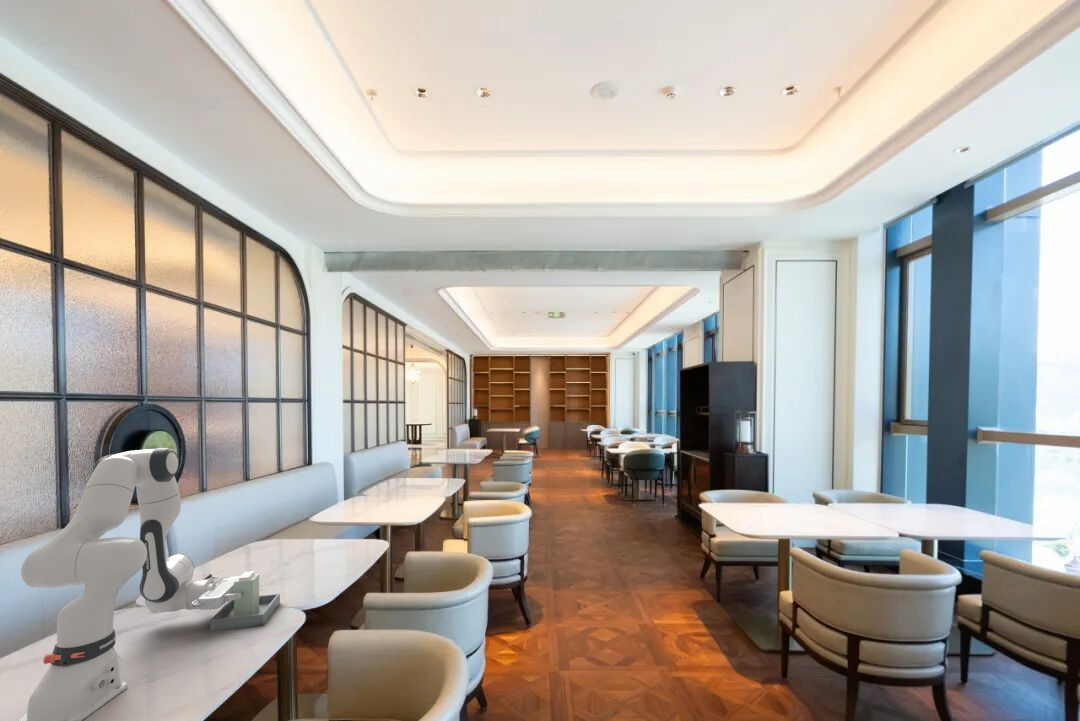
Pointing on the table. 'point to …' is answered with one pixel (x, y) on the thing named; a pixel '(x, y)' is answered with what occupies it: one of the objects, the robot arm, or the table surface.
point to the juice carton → (247, 594)
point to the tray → (228, 621)
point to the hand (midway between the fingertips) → (246, 589)
